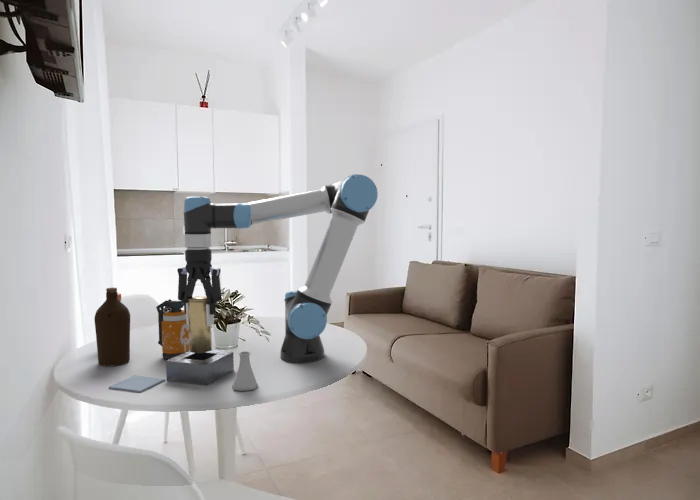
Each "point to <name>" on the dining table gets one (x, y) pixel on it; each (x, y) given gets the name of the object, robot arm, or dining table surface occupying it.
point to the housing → (200, 367)
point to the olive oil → (112, 331)
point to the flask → (244, 374)
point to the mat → (137, 383)
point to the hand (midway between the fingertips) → (200, 324)
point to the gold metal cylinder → (199, 325)
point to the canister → (173, 329)
